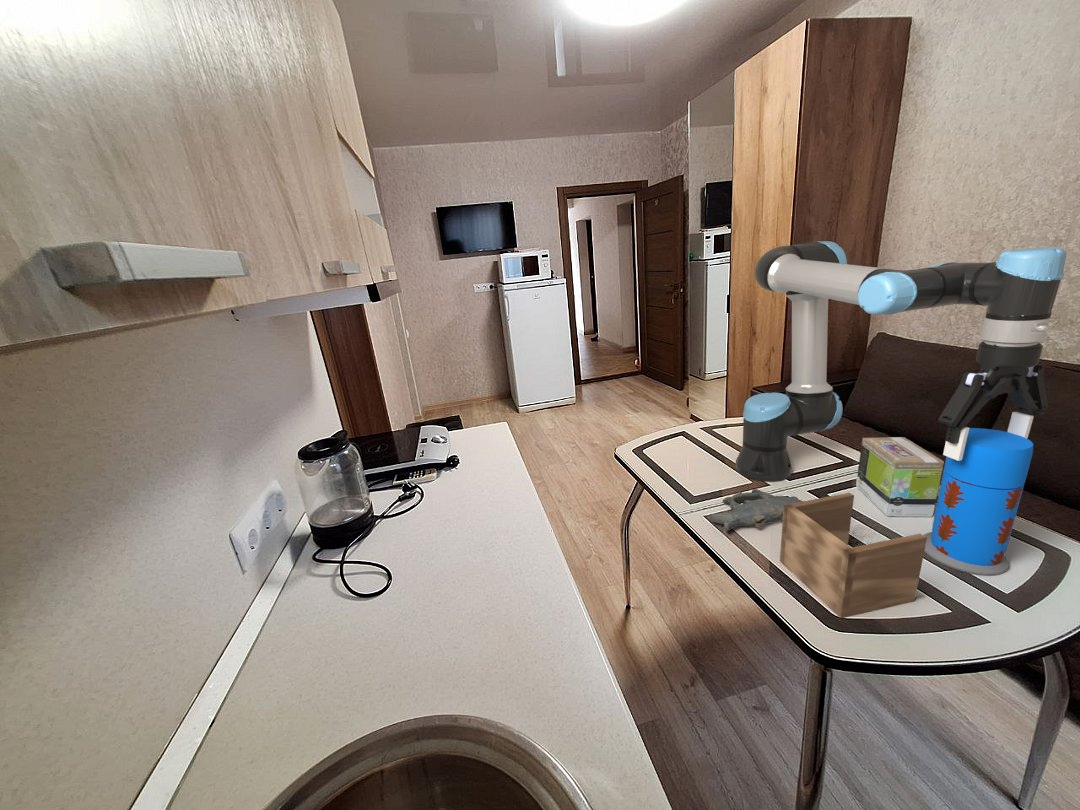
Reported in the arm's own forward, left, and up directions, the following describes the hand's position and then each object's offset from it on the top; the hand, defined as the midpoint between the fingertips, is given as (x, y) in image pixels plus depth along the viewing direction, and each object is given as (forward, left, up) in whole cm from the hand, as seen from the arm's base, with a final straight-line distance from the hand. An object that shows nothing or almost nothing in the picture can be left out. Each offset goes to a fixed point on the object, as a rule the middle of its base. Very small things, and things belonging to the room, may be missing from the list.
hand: (983, 451), depth 79 cm
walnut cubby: (0, -28, -23) cm, 36 cm away
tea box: (-20, +5, -24) cm, 31 cm away
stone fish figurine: (-25, -30, -24) cm, 46 cm away
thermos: (0, +1, -23) cm, 23 cm away
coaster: (0, 0, -23) cm, 23 cm away
